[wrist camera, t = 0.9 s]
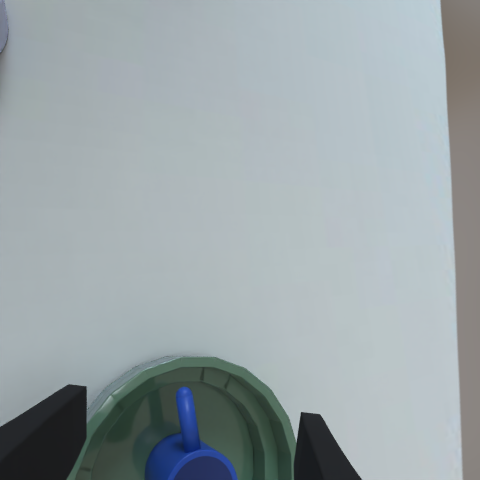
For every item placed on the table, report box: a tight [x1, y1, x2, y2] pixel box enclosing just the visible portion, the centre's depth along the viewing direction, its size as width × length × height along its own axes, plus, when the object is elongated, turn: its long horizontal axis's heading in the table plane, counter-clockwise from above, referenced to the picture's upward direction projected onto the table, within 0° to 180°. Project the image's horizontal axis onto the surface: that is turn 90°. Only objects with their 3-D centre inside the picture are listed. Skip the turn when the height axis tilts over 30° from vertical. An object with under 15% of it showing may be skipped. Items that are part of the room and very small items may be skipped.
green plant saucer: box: [66, 356, 297, 480], centre depth 24 cm, size 13×13×4 cm
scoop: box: [145, 387, 238, 480], centre depth 23 cm, size 7×4×5 cm, turn 12°
